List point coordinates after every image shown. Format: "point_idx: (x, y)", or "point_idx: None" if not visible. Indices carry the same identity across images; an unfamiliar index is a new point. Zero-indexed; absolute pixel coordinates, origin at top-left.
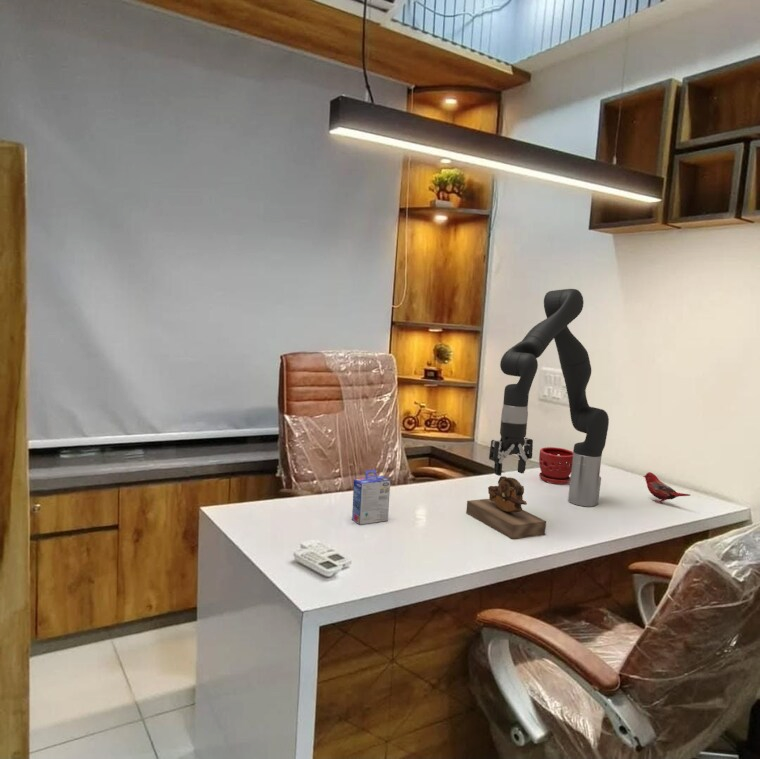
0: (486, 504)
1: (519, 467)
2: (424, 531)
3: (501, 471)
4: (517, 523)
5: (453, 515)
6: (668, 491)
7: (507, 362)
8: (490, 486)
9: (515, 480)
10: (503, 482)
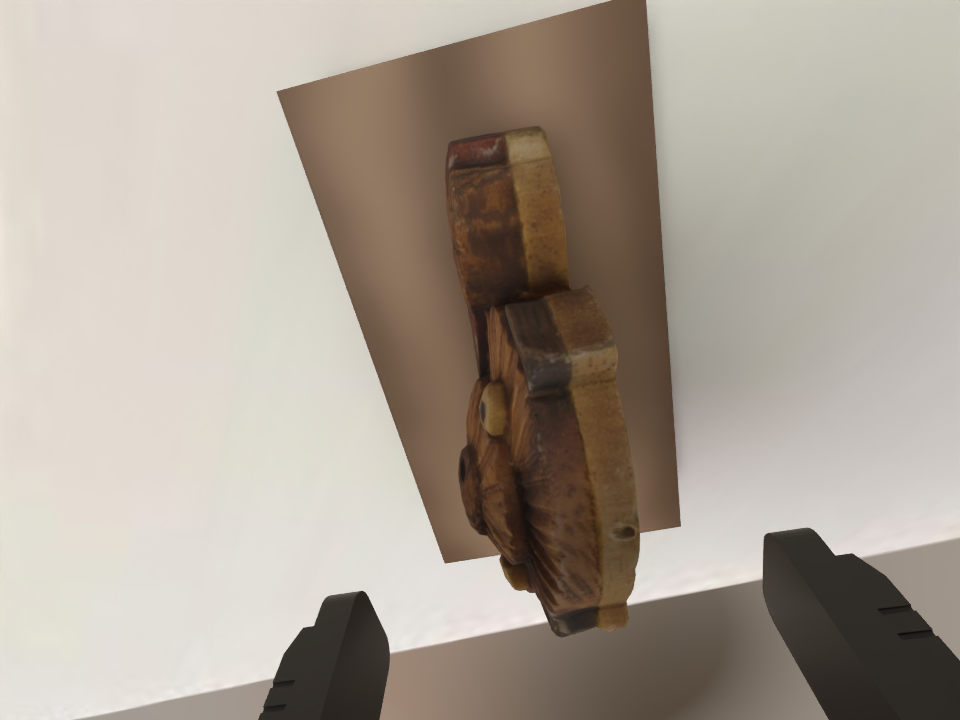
0: (427, 208)
1: (813, 625)
2: (9, 396)
3: (377, 714)
4: (483, 543)
5: (205, 142)
6: None
7: None
8: (451, 202)
9: (607, 573)
10: (488, 484)
